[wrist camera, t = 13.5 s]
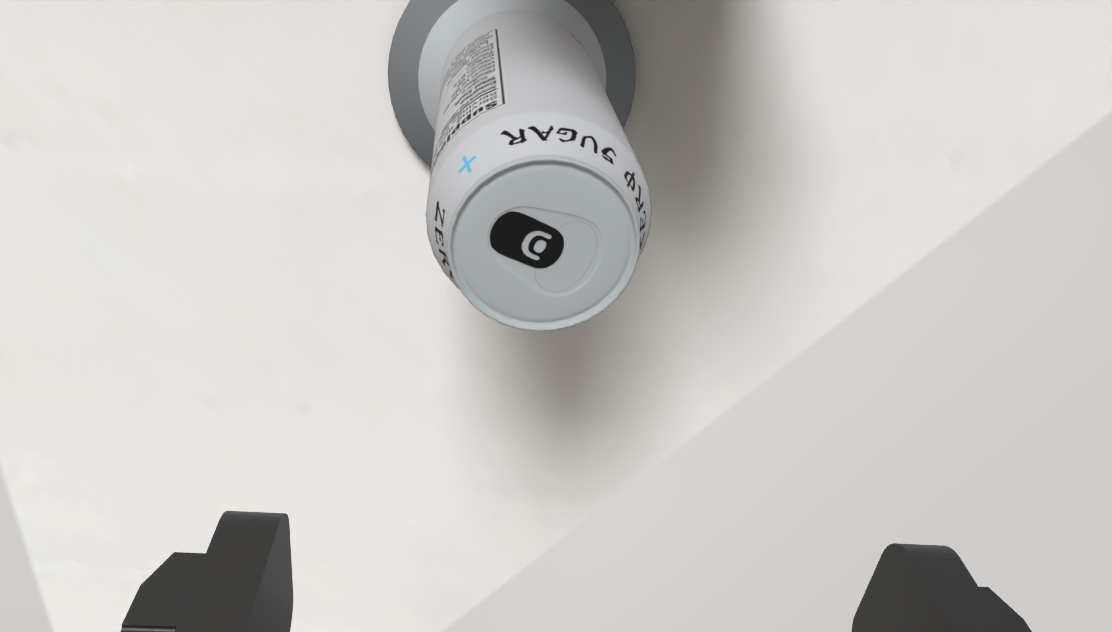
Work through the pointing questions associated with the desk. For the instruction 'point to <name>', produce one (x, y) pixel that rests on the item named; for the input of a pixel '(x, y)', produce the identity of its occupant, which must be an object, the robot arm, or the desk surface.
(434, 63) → the coaster
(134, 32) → the desk surface
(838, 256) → the desk surface
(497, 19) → the energy drink can
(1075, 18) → the desk surface
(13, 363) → the desk surface
